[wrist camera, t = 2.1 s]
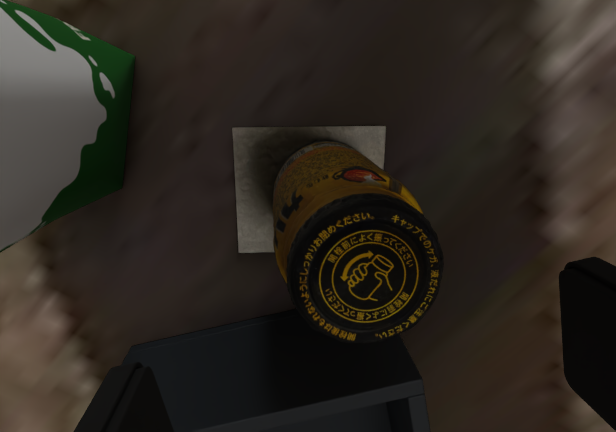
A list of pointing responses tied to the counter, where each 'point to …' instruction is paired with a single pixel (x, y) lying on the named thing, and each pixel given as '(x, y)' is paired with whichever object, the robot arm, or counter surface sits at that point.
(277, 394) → the dark grey open box
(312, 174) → the condiment
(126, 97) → the milk carton
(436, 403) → the counter surface
